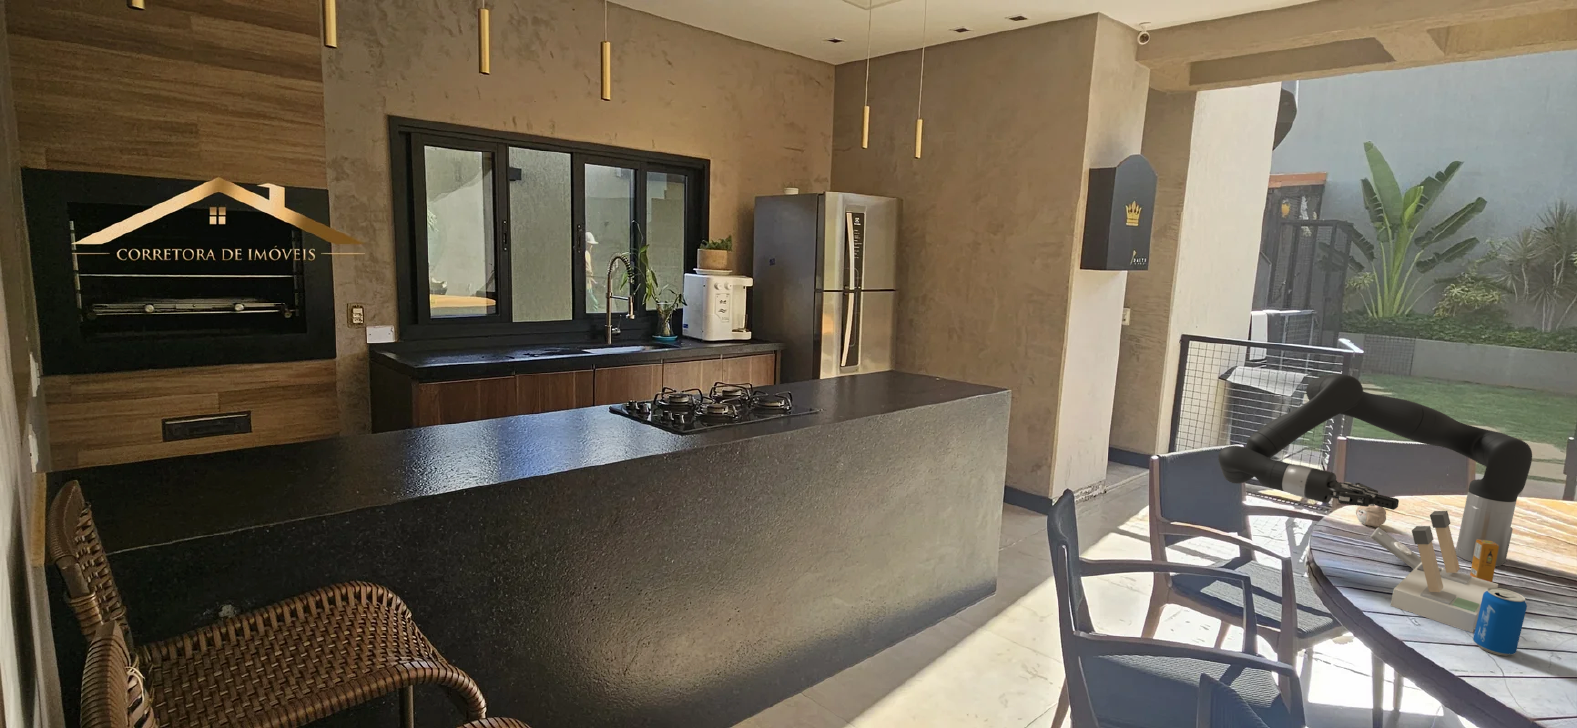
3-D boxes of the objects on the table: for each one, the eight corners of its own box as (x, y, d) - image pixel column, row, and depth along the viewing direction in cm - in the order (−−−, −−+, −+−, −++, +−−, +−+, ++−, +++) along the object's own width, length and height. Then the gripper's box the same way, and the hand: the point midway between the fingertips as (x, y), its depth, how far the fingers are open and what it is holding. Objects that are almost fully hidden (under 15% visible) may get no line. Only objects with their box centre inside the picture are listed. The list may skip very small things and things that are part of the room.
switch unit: (1390, 605, 171) (1394, 586, 171) (1418, 577, 186) (1421, 559, 186) (1472, 632, 161) (1476, 612, 160) (1494, 600, 176) (1498, 581, 175)
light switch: (1428, 571, 186) (1375, 532, 193) (1412, 585, 189) (1359, 546, 196) (1433, 562, 192) (1380, 524, 199) (1416, 576, 194) (1365, 538, 201)
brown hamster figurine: (1358, 526, 218) (1363, 500, 216) (1351, 519, 223) (1356, 493, 222) (1386, 531, 215) (1391, 504, 214) (1379, 523, 221) (1384, 496, 219)
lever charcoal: (1444, 572, 177) (1429, 514, 179) (1448, 567, 180) (1434, 510, 181) (1457, 573, 176) (1442, 514, 177) (1462, 568, 178) (1447, 510, 180)
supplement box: (1484, 578, 187) (1493, 540, 185) (1492, 584, 184) (1500, 545, 182) (1467, 576, 188) (1476, 538, 186) (1475, 582, 185) (1483, 543, 183)
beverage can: (1463, 640, 158) (1475, 586, 155) (1492, 639, 158) (1504, 586, 156) (1494, 657, 151) (1507, 601, 149) (1524, 657, 152) (1537, 601, 150)
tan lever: (1426, 591, 167) (1411, 530, 169) (1431, 586, 170) (1416, 526, 171) (1440, 592, 166) (1425, 530, 167) (1445, 587, 168) (1430, 525, 169)
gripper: (1301, 472, 180) (1391, 494, 167) (1320, 463, 189) (1408, 483, 175) (1296, 503, 182) (1385, 527, 168) (1315, 492, 190) (1402, 514, 177)
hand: (1396, 504), depth 172 cm, fingers closed
